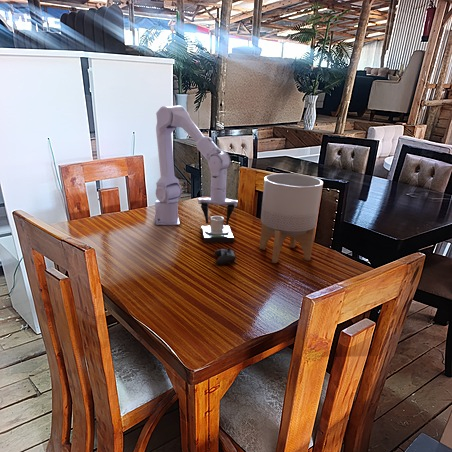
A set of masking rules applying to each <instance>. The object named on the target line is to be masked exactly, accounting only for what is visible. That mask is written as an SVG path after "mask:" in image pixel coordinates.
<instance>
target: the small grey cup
mask: <svg viewBox="0 0 452 452" xmlns="http://www.w3.org/2000/svg"><path fill="white" fill-rule="evenodd" d="M209 226H210V229H211V230H213V231H222V230H223V229H224V226H225V217H224V216H221V215H213V216H210V219H209Z"/></svg>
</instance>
